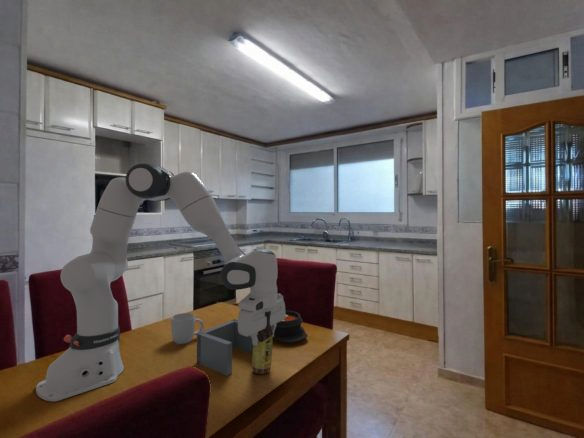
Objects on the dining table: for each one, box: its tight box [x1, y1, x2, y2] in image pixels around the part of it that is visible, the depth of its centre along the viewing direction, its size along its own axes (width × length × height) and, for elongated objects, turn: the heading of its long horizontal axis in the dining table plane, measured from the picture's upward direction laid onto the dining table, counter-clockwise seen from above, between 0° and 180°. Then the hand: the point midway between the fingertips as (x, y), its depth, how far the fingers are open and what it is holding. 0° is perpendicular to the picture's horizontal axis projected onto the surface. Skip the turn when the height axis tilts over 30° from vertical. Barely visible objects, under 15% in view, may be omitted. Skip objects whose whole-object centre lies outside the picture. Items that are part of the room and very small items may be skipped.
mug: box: [170, 312, 205, 345], centre depth 125 cm, size 13×9×10 cm
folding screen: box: [196, 319, 253, 376], centre depth 110 cm, size 18×15×10 cm
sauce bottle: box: [251, 311, 274, 375], centre depth 101 cm, size 7×6×20 cm
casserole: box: [273, 309, 308, 343], centre depth 131 cm, size 25×19×8 cm
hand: (263, 340), depth 101 cm, fingers closed on sauce bottle, 6 cm apart
